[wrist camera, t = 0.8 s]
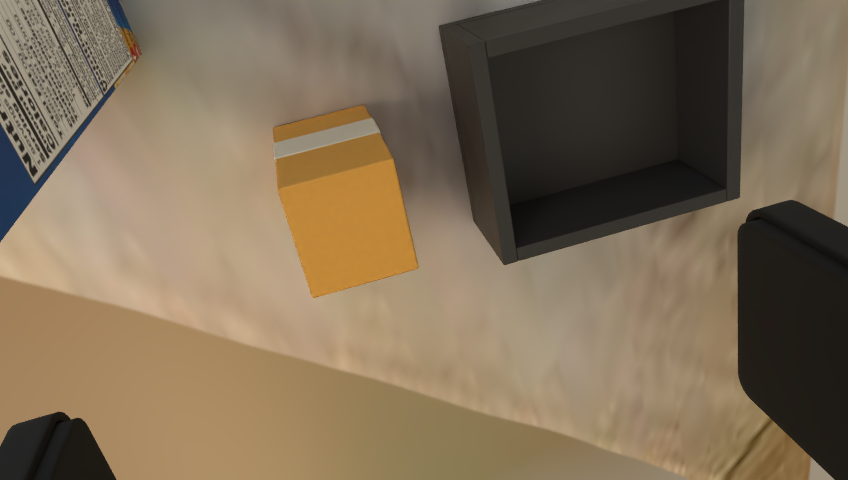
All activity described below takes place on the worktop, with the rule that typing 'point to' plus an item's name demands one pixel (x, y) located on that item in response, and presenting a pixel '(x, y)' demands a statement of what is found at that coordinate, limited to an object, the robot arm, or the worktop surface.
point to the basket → (595, 116)
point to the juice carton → (342, 200)
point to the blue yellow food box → (53, 86)
